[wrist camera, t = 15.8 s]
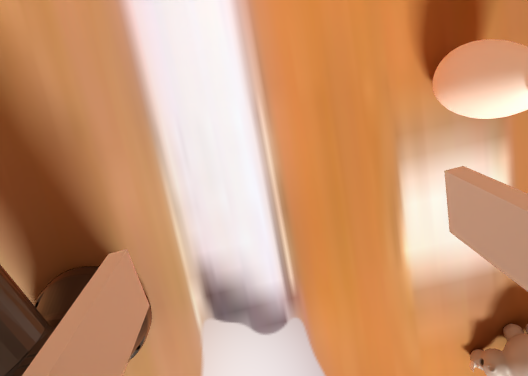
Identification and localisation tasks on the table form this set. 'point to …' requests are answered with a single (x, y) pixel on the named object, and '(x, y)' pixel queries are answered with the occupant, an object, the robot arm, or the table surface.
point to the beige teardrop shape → (484, 79)
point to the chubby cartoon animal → (505, 355)
